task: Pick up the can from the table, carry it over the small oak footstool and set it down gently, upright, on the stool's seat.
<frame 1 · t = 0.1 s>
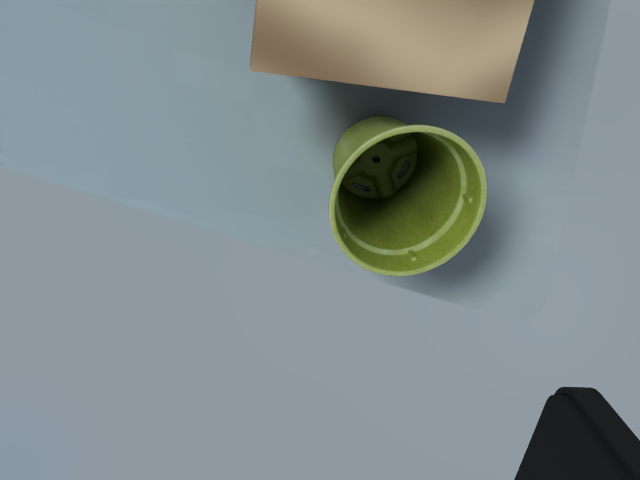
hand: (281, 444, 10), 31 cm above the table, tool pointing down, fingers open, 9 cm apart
plant pot: (375, 156, 41), on the table
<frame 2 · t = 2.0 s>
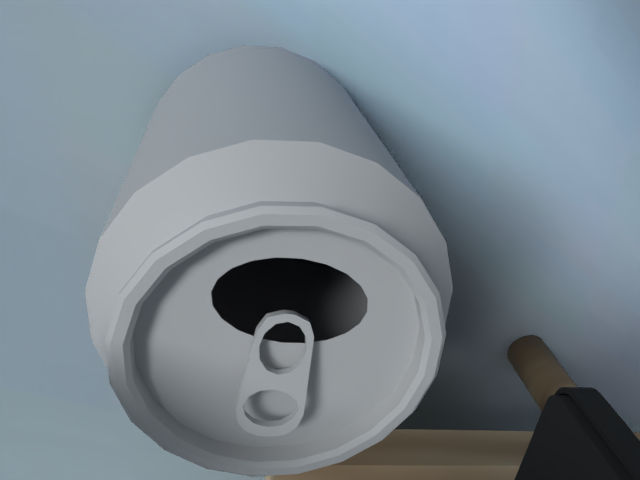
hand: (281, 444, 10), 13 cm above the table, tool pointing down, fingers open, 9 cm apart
stool: (389, 434, 29), on the table
can: (257, 146, 21), on the table
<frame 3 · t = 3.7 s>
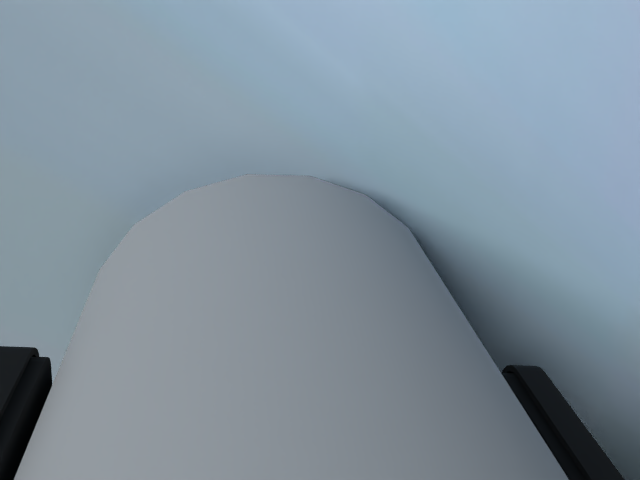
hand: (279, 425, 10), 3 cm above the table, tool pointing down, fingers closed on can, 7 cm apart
can: (267, 310, 13), on the table, touching gripper
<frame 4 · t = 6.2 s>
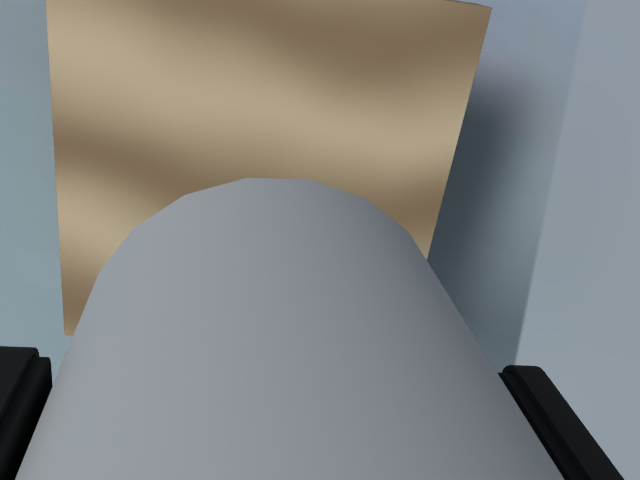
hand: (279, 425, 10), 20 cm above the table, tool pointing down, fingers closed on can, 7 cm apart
stool: (252, 123, 28), on the table
can: (267, 314, 13), point 17 cm above the table, touching gripper
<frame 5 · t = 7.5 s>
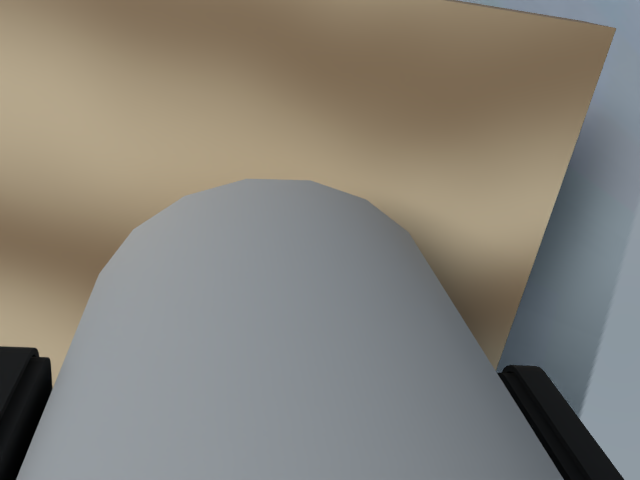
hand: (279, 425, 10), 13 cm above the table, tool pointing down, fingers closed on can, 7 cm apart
stool: (253, 172, 22), on the table
can: (267, 314, 13), point 9 cm above the table, touching gripper
when the fingers open (12 cm above the table, at t = 8.6 s): can stays where it is, resting on stool.
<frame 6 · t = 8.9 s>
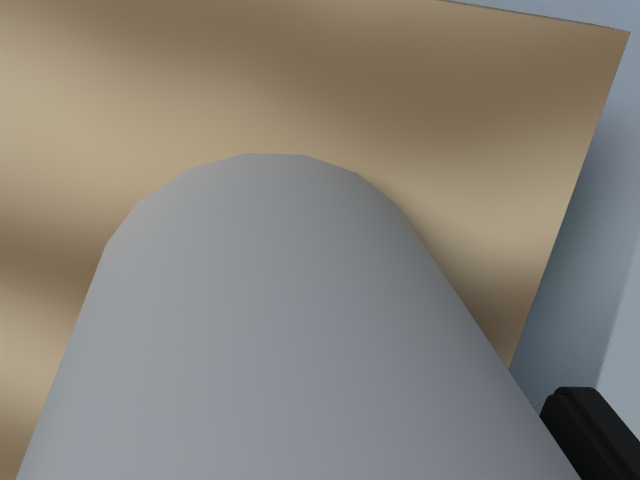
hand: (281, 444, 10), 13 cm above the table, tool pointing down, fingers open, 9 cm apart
stool: (254, 177, 21), on the table
can: (264, 286, 14), point 8 cm above the table, touching stool
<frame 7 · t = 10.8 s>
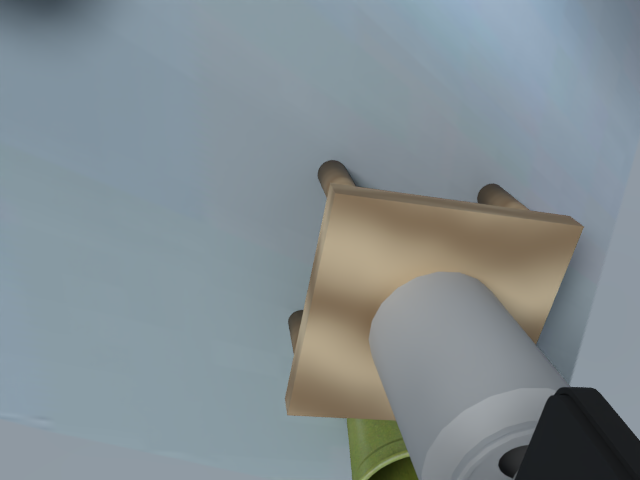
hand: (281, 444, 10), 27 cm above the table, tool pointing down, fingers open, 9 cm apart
stool: (393, 260, 40), on the table
plant pot: (384, 411, 46), on the table
can: (428, 320, 33), point 8 cm above the table, touching stool
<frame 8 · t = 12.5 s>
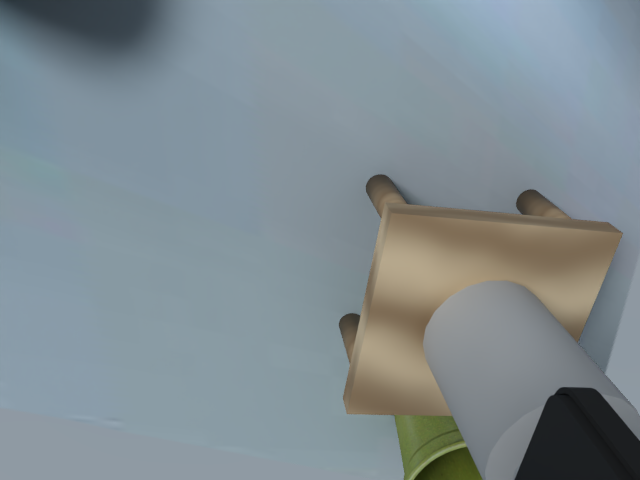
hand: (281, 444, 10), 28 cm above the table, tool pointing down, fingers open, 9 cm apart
stool: (436, 264, 42), on the table
plant pot: (429, 403, 49), on the table
can: (477, 324, 35), point 8 cm above the table, touching stool
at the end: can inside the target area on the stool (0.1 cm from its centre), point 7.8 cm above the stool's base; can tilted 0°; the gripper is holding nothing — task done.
